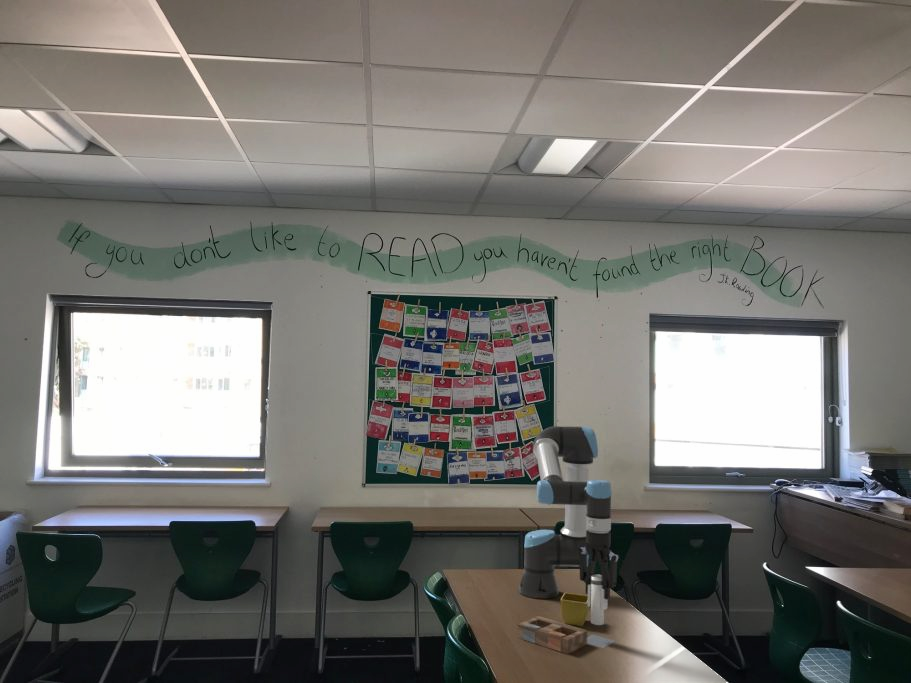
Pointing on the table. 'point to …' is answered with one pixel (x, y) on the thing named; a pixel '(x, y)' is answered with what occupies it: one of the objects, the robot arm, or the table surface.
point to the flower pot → (574, 608)
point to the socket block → (552, 634)
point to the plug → (596, 600)
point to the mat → (598, 641)
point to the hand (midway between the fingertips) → (597, 607)
